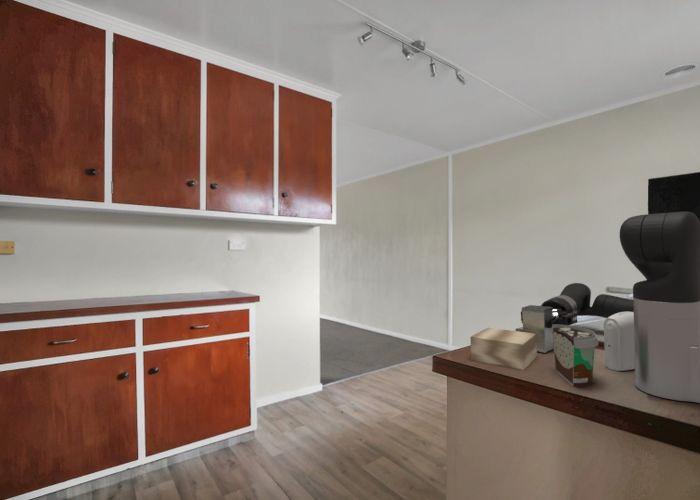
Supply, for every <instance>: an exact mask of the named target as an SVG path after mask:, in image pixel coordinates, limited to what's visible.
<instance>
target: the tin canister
mask: <svg viewBox="0 0 700 500" xmlns="http://www.w3.org/2000/svg"><path fill="white" fill-rule="evenodd" d="M552 310H553V307H546V306H541V305H537V304H536V305H535V304H529V305H526V306H523V307H521V311H522V314H523V323H522V332H526V333H534V334H536V340H537V352H538V353H543V354H544V353H545V354H546V353H547V352H550V351H552V350H554V345H553V333H552V328H547V325H546V320H547V319H549V318H551V317H553V316H552Z"/></svg>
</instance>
